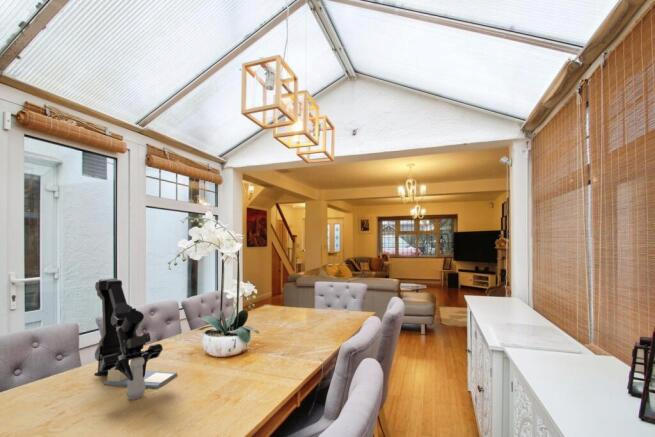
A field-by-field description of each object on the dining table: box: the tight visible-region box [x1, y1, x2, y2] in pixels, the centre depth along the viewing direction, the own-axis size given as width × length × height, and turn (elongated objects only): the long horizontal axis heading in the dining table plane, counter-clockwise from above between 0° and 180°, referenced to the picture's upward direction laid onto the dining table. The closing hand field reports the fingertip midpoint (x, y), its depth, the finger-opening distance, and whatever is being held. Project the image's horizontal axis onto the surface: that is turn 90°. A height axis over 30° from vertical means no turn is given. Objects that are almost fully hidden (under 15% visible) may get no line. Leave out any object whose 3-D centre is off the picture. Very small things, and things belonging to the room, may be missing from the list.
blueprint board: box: [103, 359, 178, 389], centre depth 122 cm, size 22×12×5 cm, turn 82°
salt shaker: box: [125, 357, 146, 401], centre depth 108 cm, size 6×6×13 cm
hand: (138, 378), depth 107 cm, fingers closed on salt shaker, 3 cm apart
